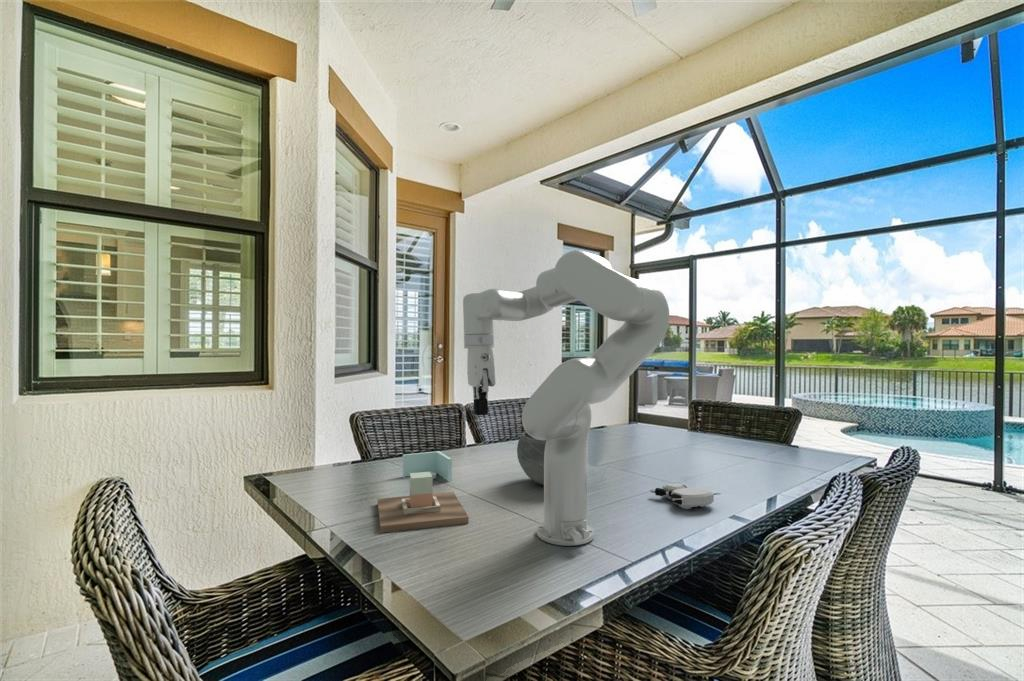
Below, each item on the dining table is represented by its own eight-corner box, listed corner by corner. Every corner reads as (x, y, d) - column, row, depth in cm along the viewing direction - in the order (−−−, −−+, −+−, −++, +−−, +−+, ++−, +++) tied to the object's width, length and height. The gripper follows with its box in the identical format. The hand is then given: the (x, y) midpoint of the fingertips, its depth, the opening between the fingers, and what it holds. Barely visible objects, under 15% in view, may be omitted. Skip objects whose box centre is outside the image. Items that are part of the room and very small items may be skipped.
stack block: (432, 509, 118) (432, 476, 118) (411, 511, 117) (411, 478, 117) (429, 503, 123) (429, 471, 123) (409, 505, 121) (409, 473, 121)
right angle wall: (402, 478, 153) (402, 454, 153) (438, 474, 159) (439, 451, 159) (413, 488, 142) (413, 462, 142) (451, 483, 148) (451, 458, 148)
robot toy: (647, 501, 133) (685, 514, 119) (646, 484, 133) (684, 496, 119) (683, 496, 137) (723, 508, 123) (682, 480, 138) (722, 490, 124)
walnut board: (468, 523, 113) (468, 511, 113) (380, 532, 107) (380, 520, 107) (453, 497, 132) (453, 487, 132) (377, 504, 126) (377, 494, 126)
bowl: (585, 496, 134) (585, 442, 134) (510, 491, 138) (510, 438, 138) (588, 476, 154) (588, 429, 154) (523, 472, 158) (523, 426, 159)
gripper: (502, 340, 117) (504, 416, 116) (484, 343, 131) (486, 411, 130) (472, 341, 114) (474, 419, 114) (457, 343, 128) (459, 412, 128)
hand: (481, 414), depth 122 cm, fingers closed
